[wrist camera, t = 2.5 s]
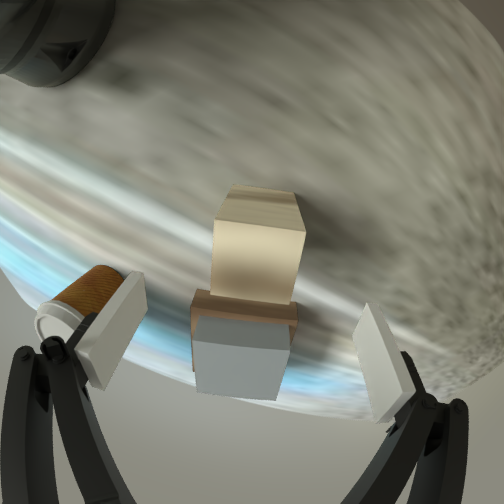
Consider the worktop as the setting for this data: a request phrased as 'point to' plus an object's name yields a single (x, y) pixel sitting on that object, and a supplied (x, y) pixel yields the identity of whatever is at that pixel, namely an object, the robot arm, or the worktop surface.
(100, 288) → the disposable coffee cup
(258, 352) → the top slab
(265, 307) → the base slab
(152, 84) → the worktop surface
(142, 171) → the worktop surface
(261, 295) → the birch block
